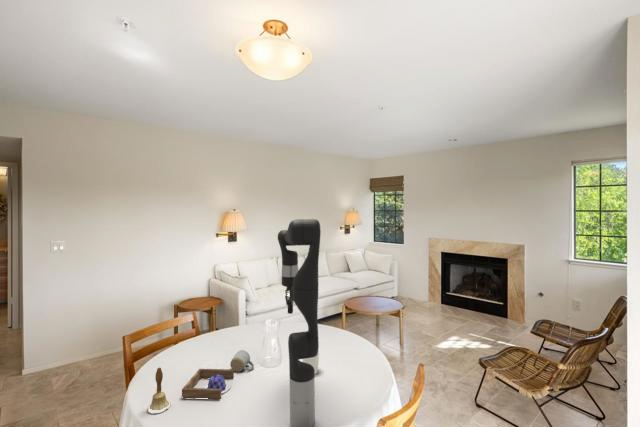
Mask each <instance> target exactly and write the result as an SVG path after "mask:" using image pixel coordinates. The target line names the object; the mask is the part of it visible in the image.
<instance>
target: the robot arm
mask: <svg viewBox="0 0 640 427" xmlns="http://www.w3.org/2000/svg"><path fill="white" fill-rule="evenodd" d="M277 240H278V244H279V247H280V251H281V286H282V287H286V288H285V290H284V292H285V294H284V295H285V296H284V298H285V304H286V306H287V314H289V315H290V314H293V312H294V304H295V306H296V308H297V309H298V310H299V312H300V314H302V316H303V317H304V319H305V321H306V324H307V326H308V327H307V331H300V332H299V331H297V332H291V333H290V334H289V336H288V340H287V342H288V344H287V346H288V359H289V361H288V362H289V369H288V370H289V425H290V426H291V427H314V425H315V423H316V410H315V409H316V405H315V404H316V403H315V401H316V398H315V397H316V395H315V392H316V391H315V388H316V384H315V375H316V374H315V371H314V367H313V366H312V365H310V364H308V363H304V362H303V361H301V360H303V359H305V358H312V357H315V356H317V354H318V350H319V324H318V309H319V308H318V307H319V305H318V304H319V303H318V302H319V258H320V245H321V224H320V221H319V219H317V218H316V219H315V218H311V219H310V218H307V219H305V218H303V219H302V218H301V219H293V220H291V221H290V222H289V223H288V228H287V229H284V230H283V229H282V230H280V231H279V232H278V234H277ZM287 246H288V247H290V246H291V247H292V246H309V247H308V252H307V255H306V258H305V260H304V261H303V262H302V265H300V267H299V265H298V264H299V262H298V261H299V260H298V258H299V257H298V256H299V254H298V252H297V251H296V250H290V249H289V248H287Z"/></svg>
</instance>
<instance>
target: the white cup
mask: <svg viewBox="0 0 640 427" xmlns="http://www.w3.org/2000/svg"><path fill="white" fill-rule="evenodd" d="M319 355H320V350H319V349H318V354H317V356H315V357H312V358H305V359H302V362H304V363H308V364H310V365H312V366H313V367H314V371H315V375H317V373H318V372H319V362H320V361H319V360H320V357H319Z"/></svg>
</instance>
